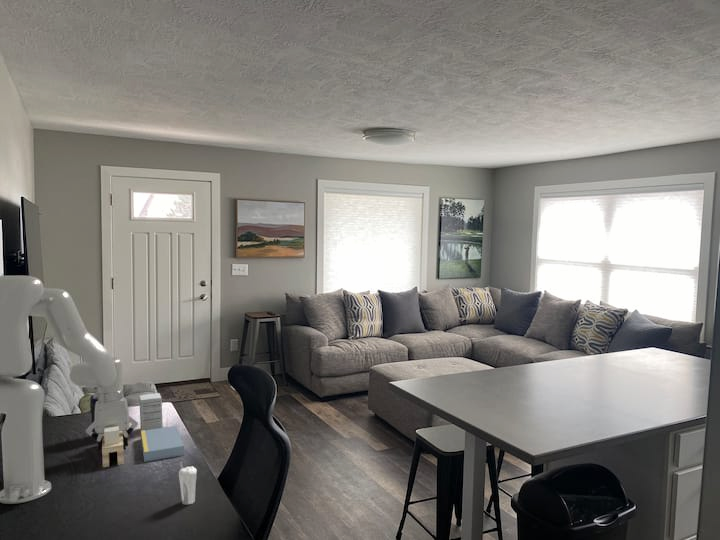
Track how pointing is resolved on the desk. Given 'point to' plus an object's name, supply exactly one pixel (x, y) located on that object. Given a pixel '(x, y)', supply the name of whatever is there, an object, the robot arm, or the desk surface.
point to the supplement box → (151, 411)
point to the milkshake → (187, 484)
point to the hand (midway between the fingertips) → (113, 449)
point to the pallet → (113, 448)
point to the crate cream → (111, 435)
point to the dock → (161, 443)
